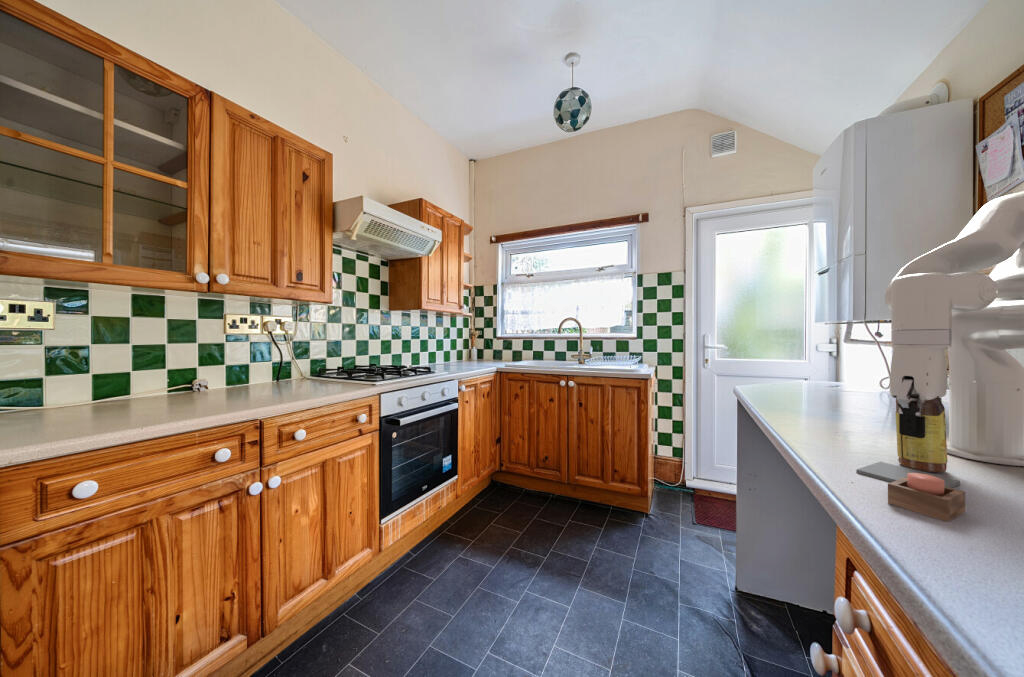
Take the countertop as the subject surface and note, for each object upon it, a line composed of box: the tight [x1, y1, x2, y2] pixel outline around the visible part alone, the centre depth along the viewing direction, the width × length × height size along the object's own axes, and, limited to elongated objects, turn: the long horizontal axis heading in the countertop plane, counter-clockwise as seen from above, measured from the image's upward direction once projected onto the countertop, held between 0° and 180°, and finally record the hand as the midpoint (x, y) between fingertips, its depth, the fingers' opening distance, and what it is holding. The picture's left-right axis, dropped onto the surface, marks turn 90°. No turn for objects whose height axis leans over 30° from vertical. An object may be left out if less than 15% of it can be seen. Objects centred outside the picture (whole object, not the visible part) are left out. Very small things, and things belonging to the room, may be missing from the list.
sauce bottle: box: [895, 396, 948, 473], centre depth 67 cm, size 6×6×20 cm
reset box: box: [887, 477, 966, 523], centre depth 53 cm, size 6×6×3 cm
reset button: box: [907, 473, 944, 497], centre depth 53 cm, size 4×4×2 cm
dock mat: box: [855, 461, 961, 489], centre depth 63 cm, size 9×10×1 cm
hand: (920, 432), depth 68 cm, fingers closed on sauce bottle, 6 cm apart
